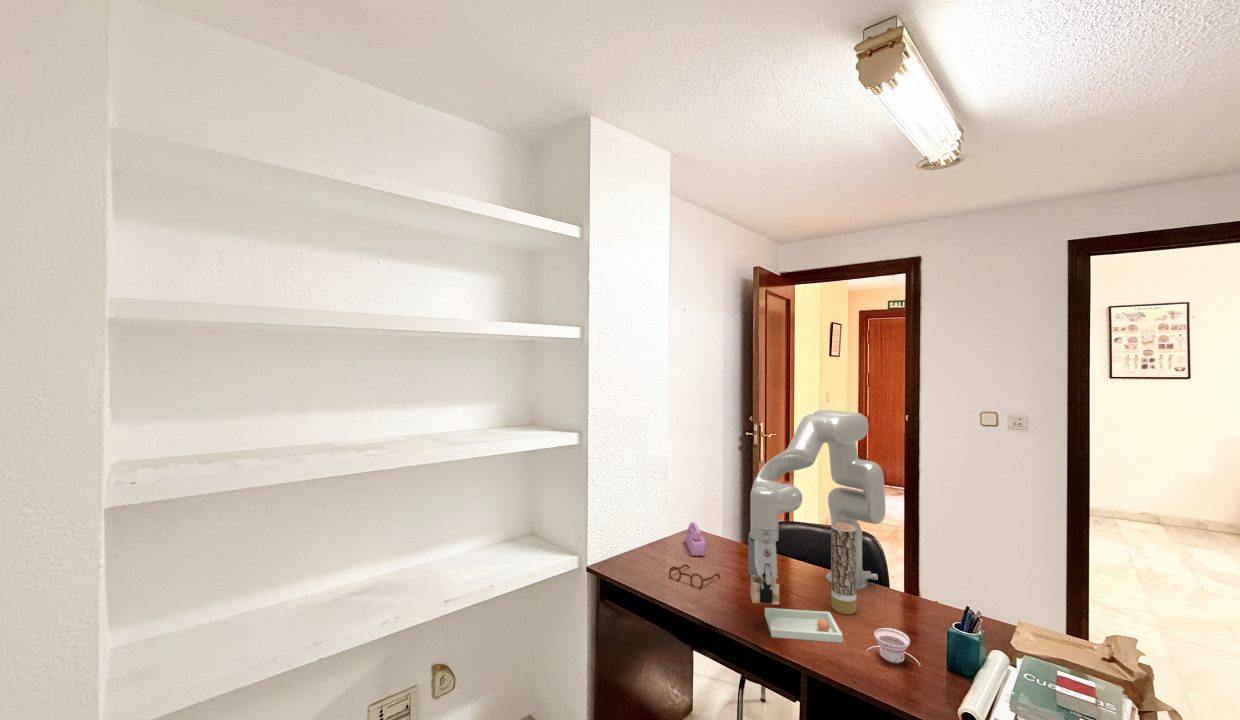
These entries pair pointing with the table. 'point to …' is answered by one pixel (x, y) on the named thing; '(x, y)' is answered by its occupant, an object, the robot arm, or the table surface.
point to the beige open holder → (757, 585)
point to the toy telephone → (695, 540)
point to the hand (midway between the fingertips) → (764, 597)
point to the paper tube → (843, 568)
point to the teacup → (892, 644)
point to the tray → (801, 625)
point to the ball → (823, 625)
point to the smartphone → (751, 556)
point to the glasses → (690, 576)
